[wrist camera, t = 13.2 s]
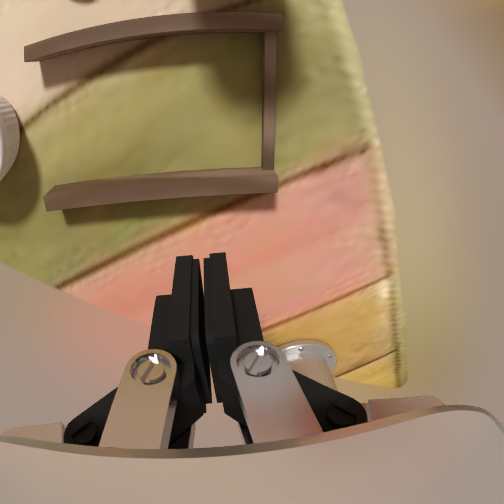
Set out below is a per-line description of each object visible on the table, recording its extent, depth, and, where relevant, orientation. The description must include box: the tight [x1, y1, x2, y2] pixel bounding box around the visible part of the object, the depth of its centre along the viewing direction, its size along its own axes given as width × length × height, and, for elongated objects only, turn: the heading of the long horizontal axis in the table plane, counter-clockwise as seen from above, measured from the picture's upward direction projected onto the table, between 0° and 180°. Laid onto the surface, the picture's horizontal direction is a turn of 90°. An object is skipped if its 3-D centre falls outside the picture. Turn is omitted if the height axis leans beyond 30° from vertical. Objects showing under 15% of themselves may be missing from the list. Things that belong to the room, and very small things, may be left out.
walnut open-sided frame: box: [24, 12, 282, 211], centre depth 25 cm, size 16×22×3 cm
